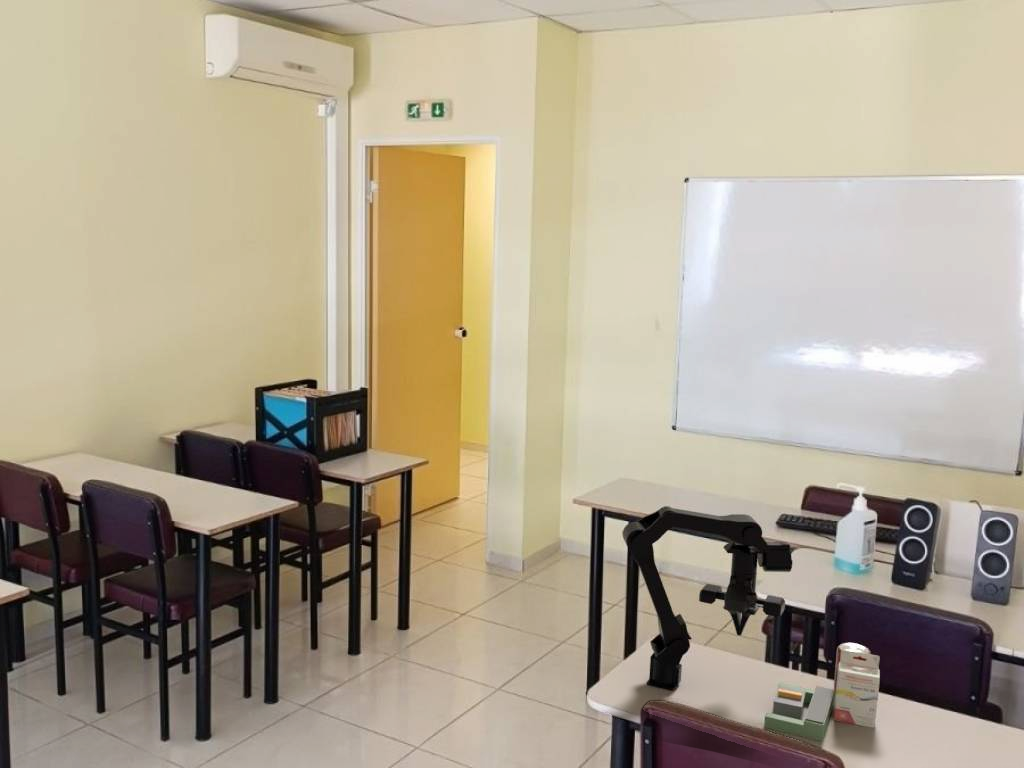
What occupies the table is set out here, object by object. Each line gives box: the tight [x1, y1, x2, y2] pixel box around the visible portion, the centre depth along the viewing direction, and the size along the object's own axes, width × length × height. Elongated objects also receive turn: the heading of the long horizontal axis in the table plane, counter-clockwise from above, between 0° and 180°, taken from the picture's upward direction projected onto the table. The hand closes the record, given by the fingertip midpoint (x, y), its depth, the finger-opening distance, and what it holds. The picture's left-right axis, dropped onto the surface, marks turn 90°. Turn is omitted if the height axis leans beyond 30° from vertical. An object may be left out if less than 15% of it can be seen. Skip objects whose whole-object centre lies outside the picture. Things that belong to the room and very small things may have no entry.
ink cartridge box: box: [833, 650, 881, 729], centre depth 210 cm, size 9×5×15 cm, turn 71°
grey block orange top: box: [772, 686, 806, 720], centre depth 214 cm, size 6×8×4 cm
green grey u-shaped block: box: [763, 682, 835, 742], centre depth 212 cm, size 12×18×4 cm, turn 155°
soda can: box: [833, 642, 872, 697], centre depth 220 cm, size 7×7×12 cm
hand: (739, 635), depth 224 cm, fingers closed
